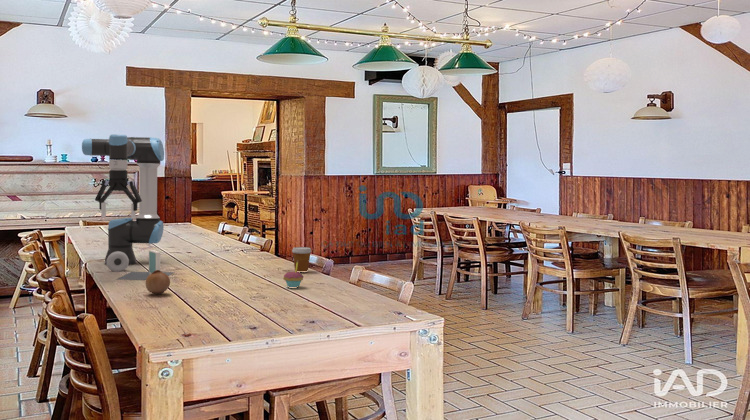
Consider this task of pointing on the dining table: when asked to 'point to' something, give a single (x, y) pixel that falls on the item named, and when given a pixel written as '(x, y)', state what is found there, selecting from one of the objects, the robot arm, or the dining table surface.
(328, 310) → the dining table surface
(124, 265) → the donut
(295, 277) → the cupcake
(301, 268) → the disposable coffee cup
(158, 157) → the robot arm
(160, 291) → the onion
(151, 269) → the board
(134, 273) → the mat
